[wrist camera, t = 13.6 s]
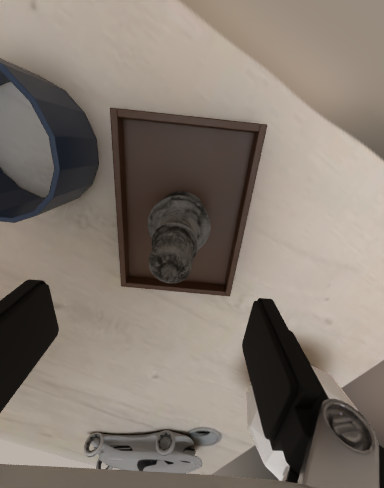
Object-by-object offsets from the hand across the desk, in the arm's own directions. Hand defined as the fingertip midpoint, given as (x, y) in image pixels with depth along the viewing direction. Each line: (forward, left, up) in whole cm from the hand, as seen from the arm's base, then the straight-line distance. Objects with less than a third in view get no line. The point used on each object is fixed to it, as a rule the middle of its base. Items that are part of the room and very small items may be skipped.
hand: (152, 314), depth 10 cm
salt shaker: (0, 0, -15) cm, 14 cm away
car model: (-4, -52, -15) cm, 54 cm away
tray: (0, 0, -15) cm, 15 cm away
